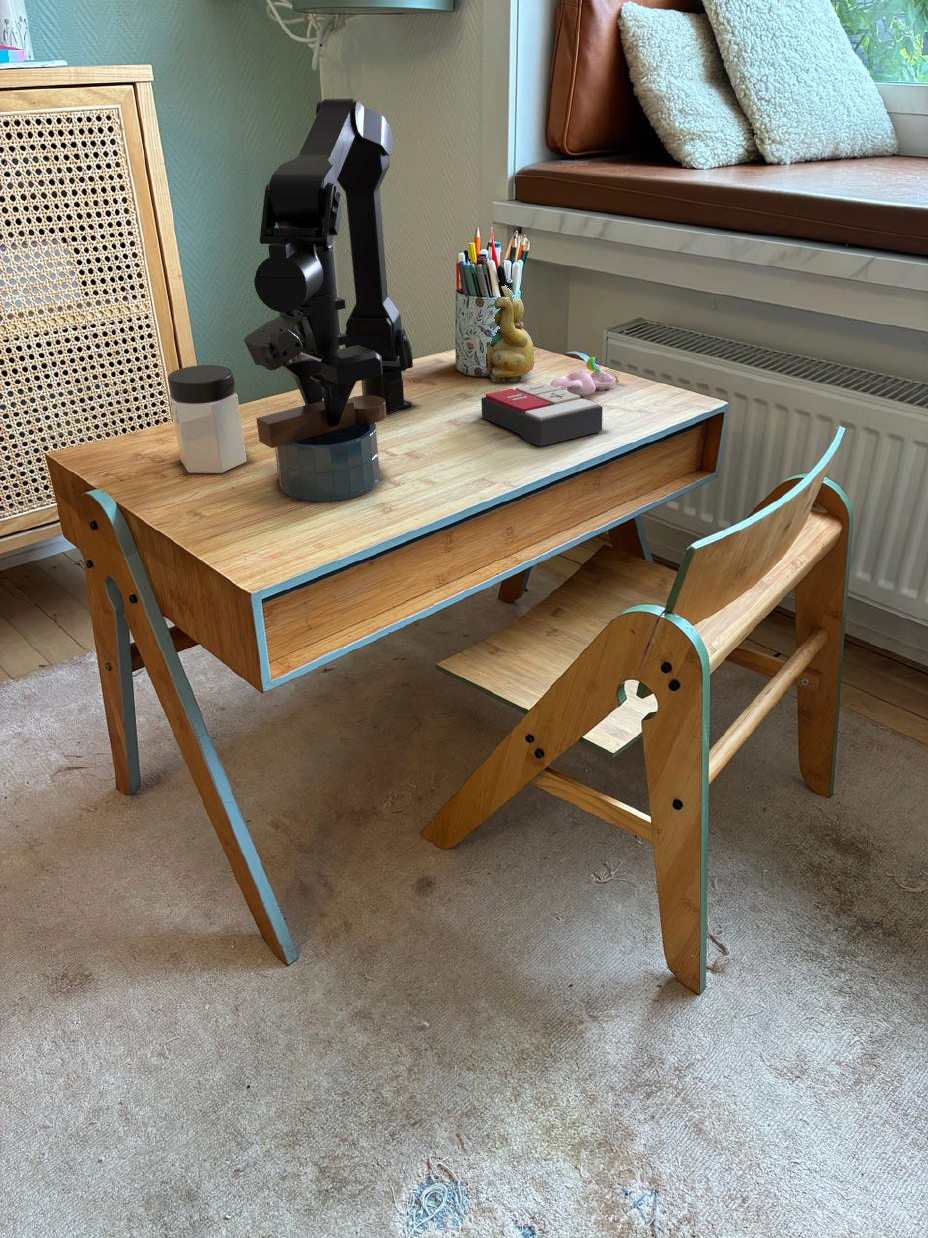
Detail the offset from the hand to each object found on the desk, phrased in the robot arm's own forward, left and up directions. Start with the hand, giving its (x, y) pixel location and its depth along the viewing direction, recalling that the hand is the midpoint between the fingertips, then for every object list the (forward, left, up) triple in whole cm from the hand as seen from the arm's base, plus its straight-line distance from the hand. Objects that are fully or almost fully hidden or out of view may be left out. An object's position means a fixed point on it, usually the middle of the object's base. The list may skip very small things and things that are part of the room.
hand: (324, 421), depth 121 cm
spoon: (0, 0, -1) cm, 1 cm away
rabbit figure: (-2, +48, -8) cm, 49 cm away
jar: (-16, -8, -8) cm, 20 cm away
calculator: (+3, +34, -8) cm, 35 cm away
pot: (0, 0, -8) cm, 8 cm away
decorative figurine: (-17, +46, -8) cm, 50 cm away
